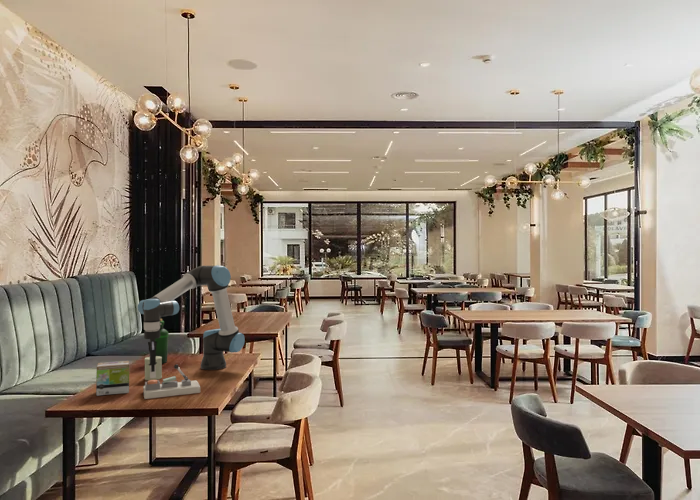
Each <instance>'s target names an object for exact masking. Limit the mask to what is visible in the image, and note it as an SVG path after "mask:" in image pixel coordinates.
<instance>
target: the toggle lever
mask: <svg viewBox="0 0 700 500" xmlns="http://www.w3.org/2000/svg"><path fill="white" fill-rule="evenodd" d="M173 368H174V369H175V370H177V371H178V372H179V374H180V375H181V376H182V378H184V379H183V380H188V379H189V378H188V376H187V375H186V374H185V373H184V372H183V370H181V369H180V367H179V364H177V363H176V364H174V366H173Z"/></svg>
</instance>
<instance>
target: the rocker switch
mask: <svg viewBox="0 0 700 500" xmlns="http://www.w3.org/2000/svg"><path fill="white" fill-rule="evenodd" d="M170 381H177V377H176V376H175V375H173V376H170V377H166V378H163V379H162V382H164V383H166V382H170Z"/></svg>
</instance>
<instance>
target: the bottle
mask: <svg viewBox="0 0 700 500" xmlns="http://www.w3.org/2000/svg"><path fill="white" fill-rule="evenodd" d="M160 323H161V325H160V329H159V330H160V338H156V339H155V341H156V342H157V346H156V356H160V357H162V364H163V365H164V364H166V363H167V362H168V354H169V352H168V351H169V350H168V349H169V348H168V347H169V334H170V333H169V331H168V330H167V329H165V328H164V325H165V321H164V320H163V318H160Z"/></svg>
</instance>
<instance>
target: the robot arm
mask: <svg viewBox="0 0 700 500" xmlns="http://www.w3.org/2000/svg"><path fill="white" fill-rule="evenodd" d="M231 279H232V278H231V272H230V270H229V268H227V267H226V266H225V265H219V264H217V265H199V266H197V267H195V268H193V269H190V271H188V272H186V273H184V274H183V275H182V277H181V278H180V279H178V280H177V281H175V282H174V283H173V284H172V283H171V285H169V286H167V287H166V288H164V289H163V290H161V291H160V292H158V293H157V294H155V295H154V296H152V297H150V298H148V299H142V300H140V301H139V302H138V304H137V310H138V313H139V314H141V315H143V330H144V332H143V338H144V339H145V340H149V341H147V345H148V351H149V357H150V360H149V362H150V364H149V365H150V378H156V364H157V362H156V346H157V342H156V341H155V339H156V338H160V330H159V329H160V325H161V323H160V319H161V318H162V317H169V316H174V315H177V314H178V313H179V311H180V305H179V303H178V301H176V300H175V299H177V298H179V297H180V296H182V295H183V294H184V293H186V292H187V291H189V290H191V289H192V290H194V289H195V288H196V287H201V286H205V287H206V286H207V290H208V292H209V293H211V295H212V300H213V305H214V308H215V312H216V317H217V321H218V324H219V328H215V329H209V330H204V332H203V337H202V344H203V345H202V347H203V356H202V359H201V362H200V369H201V370H204V371H206V370H207V371H215V370H221V369H225V368H226V367H227V362H226V358H225V356H224V352H226V353H238V352H241V350H242V349H243V347H244V345H245V335H244V333H242V332H240V331H239V327H238V326H237V325H235V320H234V316H233V312H232V308H231V303H230V299H229V298H230V297H229V295H228V288H229V284H230V283H231Z"/></svg>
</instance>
